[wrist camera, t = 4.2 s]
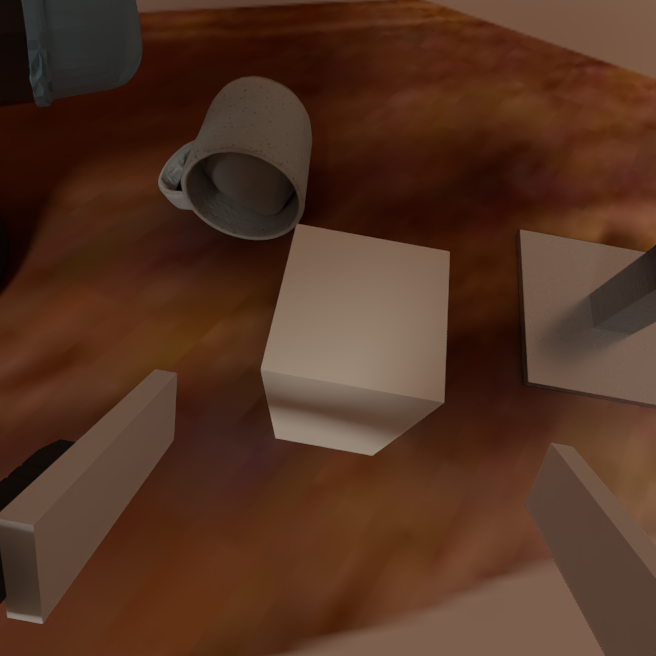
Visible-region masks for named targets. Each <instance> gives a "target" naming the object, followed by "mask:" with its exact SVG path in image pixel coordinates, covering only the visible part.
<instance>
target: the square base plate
mask: <svg viewBox="0 0 656 656" xmlns="http://www.w3.org/2000/svg"><path fill="white" fill-rule="evenodd" d="M516 244H517V265H518V285H519V306H520V326H521V347H522V367H523V385H528V386H534V387H539V388H545V389H550V390H556V391H561V392H567V393H572V394H578V395H583V396H589V397H594V398H600V399H605V400H611V401H616V402H622V403H628V404H633V405H639V406H644V407H650V408H655V409H656V245H655V246H654V247H653V248H651V249H650V250H649V251H647V252H641V251H636V250H630V249H625V248H619V247H614V246H609V245H603V244H598V243H592V242H587V241H581V240H576V239H570V238H565V237H559V236H554V235H548V234H543V233H537V232H532V231H526V230H521V229H520V230H519V231H518V233H517V234H516Z"/></svg>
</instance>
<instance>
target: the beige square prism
mask: <svg viewBox="0 0 656 656" xmlns="http://www.w3.org/2000/svg"><path fill="white" fill-rule="evenodd" d="M449 266H450V251H444V250H439V249H433V248H428V247H422V246H417V245H411V244H406V243H400V242H395V241H389V240H384V239H378V238H373V237H367V236H362V235H356V234H351V233H345V232H340V231H334V230H329V229H323V228H318V227H312V226H307V225H302V224H296V228H295V232H294V236H293V240H292V244H291V248H290V252H289V256H288V260H287V264H286V268H285V273H284V277H283V281H282V285H281V289H280V293H279V297H278V301H277V305H276V309H275V313H274V317H273V321H272V325H271V329H270V333H269V337H268V341H267V345H266V349H265V354H264V358H263V362H262V366H261V374H262V378H263V383H264V388H265V392H266V397H267V401H268V406H269V410H270V415H271V419H272V424H273V428H274V433H275V438H278V439H283V440H289V441H294V442H300V443H305V444H311V445H317V446H322V447H328V448H333V449H339V450H344V451H350V452H355V453H361V454H367V455H372V456H373V455H374V454H375V453H377V452H378V451H379V450H381V449H382V448H383V447H385V446H386V445H388V444H389V443H390V442H392V441H393V440H394V439H396V438H397V437H398V436H400V435H401V434H402V433H404V432H405V431H407V430H408V429H409V428H411V427H412V426H413V425H415V424H416V423H417V422H419V421H420V420H421V419H423V418H424V417H426V416H427V415H428V414H430V413H431V412H432V411H434V410H435V409H436V408H438V407H439V406H441V405H442V404H443V403H444V396H445V370H446V344H447V318H448V292H449Z"/></svg>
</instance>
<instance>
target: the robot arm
mask: <svg viewBox="0 0 656 656" xmlns="http://www.w3.org/2000/svg"><path fill="white" fill-rule="evenodd" d="M141 58H142V37H141V29H140V23H139V17H138V10H137V5H136V0H0V107H2V106H10V105H18V104H25V103H33V102H35V104H36V105H37V106H38V107H48V106H50V105H51V103H52V101H53V100H54V99H60V98H65V97H71V96H77V95H82V94H88V93H94V92H99V91H105V90H110V89H114V88H117V87H120V86H122V85H124V84H125V83H127V82H128V81H129V80H130V79H132V77H133V76H134V75H135V73H136V72H137V69H138V67H139V65H140V62H141ZM7 258H8V237H7V232H6V229H5V226H4V223H3V221H2V219H1V217H0V281H1V279H2V277H3V274H4V271H5V267H6V264H7ZM176 387H177V373H174V372H168V371H163V370H158V369H155V370H154V371H153V372H152V373H151V374H150V375H148V376H147V377H146V378H145V379H144V380H143V381H142V382H141V383H140V384H139V385H138V386H136V387H135V388H134V389H133V390H132V391H131V392H130V393H129V394H128V395H127V396H126V397H125V398H123V399H122V400H121V401H120V402H119V403H118V404H117V405H116V406H115V407H114V408H113V409H112V410H110V411H109V412H108V413H107V414H106V415H105V416H104V417H103V418H102V419H101V420H100V421H99V422H97V423H96V424H95V425H94V426H93V427H92V428H91V429H90V430H89V431H88V432H87V433H85V434H84V435H83V436H82V437H81V438H80V439H79V440H78V441H77V442H71V441H66V440H58V441H56V442H54V443H52V444H49V445H47V446H45V447H43V448H41V449H39V450H38V451H37V452H35V453H34V454H33V455H32V456H31V457H29V458H28V459H27V460H26V461H25V462H23V463H22V466H19V467H17V468H16V469H15V470H14V471H13V472H11V473H10V474H9V476H8V478H4V479H3V480H2V481H1V482H0V604H1V603H2V601H3V600H4V599H5V603H6V611H7V617H8V618H13V619H19V620H24V621H30V622H35V623H41V624H43V623H44V622H45V620H46V619H47V617H48V616H49V615H50V613H51V612H52V610H53V609H54V608H55V606H56V605H57V603H58V602H59V600H60V599H61V598H62V596H63V595H64V593H65V592H66V591H67V589H68V588H69V586H70V585H71V584H72V582H73V581H74V579H75V578H76V577H77V575H78V574H79V572H80V571H81V569H82V568H83V567H84V565H85V564H86V562H87V561H88V560H89V558H90V557H91V555H92V554H93V553H94V551H95V550H96V548H97V547H98V546H99V544H100V543H101V541H102V540H103V539H104V537H105V536H106V534H107V533H108V531H109V530H110V529H111V527H112V526H113V524H114V523H115V522H116V520H117V519H118V517H119V516H120V515H121V513H122V512H123V510H124V509H125V508H126V506H127V505H128V503H129V502H130V501H131V499H132V498H133V496H134V495H135V493H136V492H137V491H138V489H139V488H140V486H141V485H142V484H143V482H144V481H145V479H146V478H147V477H148V475H149V474H150V472H151V471H152V470H153V468H154V467H155V465H156V464H157V463H158V461H159V460H160V458H161V457H162V455H163V454H164V453H165V451H166V450H167V448H168V447H169V446H170V444H171V443H172V441H173V440H174V424H175V406H176ZM524 505H525V507H526V509H527V511H528V513H529V515H530V516H531V518H532V520H533V522H534V524H535V526H536V528H537V530H538V531H539V533H540V535H541V537H542V539H543V541H544V543H545V544H546V546H547V548H548V550H549V552H550V554H551V556H552V558H553V559H554V561H555V563H556V565H557V567H558V569H559V571H560V572H561V574H562V576H563V578H564V580H565V582H566V583H567V586H568V587H569V589H570V591H571V593H572V595H573V597H574V599H575V600H576V602H577V604H578V606H579V608H580V610H581V611H582V613H583V615H584V617H585V619H586V621H587V623H588V625H589V627H590V628H591V630H592V632H593V634H594V636H595V638H596V639H597V641H598V643H599V645H600V647H601V649H602V651H603V653H604V655H605V656H656V545H655V544H654V542H653V541H652V540H651V539H650V538H649V536H648V535H647V534H646V533H645V532H644V531H643V529H642V528H641V527H640V526H639V525H638V523H637V522H636V521H635V520H634V519H633V517H632V516H631V515H630V514H629V513H628V512H627V510H626V509H625V508H624V507H623V506H622V504H621V503H620V502H619V501H618V500H617V498H616V497H615V496H614V495H613V494H612V493H611V491H610V490H609V489H608V488H607V487H606V485H605V484H604V483H603V482H602V481H601V479H600V478H599V477H598V476H597V475H596V474H595V472H594V471H593V470H592V469H591V468H590V466H589V465H588V464H587V463H586V462H585V460H584V459H583V458H582V457H581V456H580V455H579V453H578V452H577V451H576V450H575V449H574V447H573V446H567V445H562V444H556V443H551V444H550V446H549V448H548V451H547V453H546V455H545V457H544V460H543V462H542V464H541V467H540V469H539V471H538V474H537V476H536V478H535V481H534V483H533V485H532V488H531V490H530V492H529V495H528V497H527V499H526V502H525V504H524Z"/></svg>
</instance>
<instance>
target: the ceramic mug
mask: <svg viewBox="0 0 656 656" xmlns="http://www.w3.org/2000/svg"><path fill="white" fill-rule="evenodd" d="M311 149H312V132H311V124H310V119H309V116H308V114H307V111H306V109H305V107H304V105H303V104H302V103H301V101H300V100H299V98H298V97H297V96H296V95H295V94H294V93H293V92H292V91H291V90H290V89H289V88H287V87H286V86H285V85H283V84H281V83H279V82H277V81H274V80H272V79H269V78H266V77H260V76H247V77H241V78H238V79H236V80H234V81H232V82H230V83H229V84H227V85H226V86H225V87H224V88H222V90H221V91H220V92H219V93H218V94H217V96H216V97H215V98H214V100H213V101H212V103H211V105H210V107H209V109H208V111H207V114H206V116H205V119H204V122H203V125H202V127H201V129H200V132H199V134H198V136H197V138H196V140H193V141H191V142H189V143H187V144H185V145H184V146H183V147H182V148H180V149H179V150H178V151H177V152H176V153H174V154H173V155H172V157H171V158H170V159H169V160H168V161H167V162H166V164H165V166H164V167H163V169H162V171H161V173H160V176H159V181H158V185H159V188H160V190H161V191H162V193H163V194H164V195H165V196H166V197H167V198H168V200H169V201H170V202H171V203H172V204H173V205H175V206H176V207H178V208H180V209H185V210H193V211H194V212H195V214H197V215H198V216H199V217H200V218H201V219H202V220H203V221H204V222H206V223H207V224H208V225H210V226H211V227H213V228H215V229H217V230H219V231H221V232H223V233H225V234H228V235H231V236H234V237H238V238H243V239H248V240H269V239H274V238H277V237H280V236H283V235H285V234H287V233H288V232H290V231H291V230H292V229H293V228H294V227H295V226H296V224H298V222H299V221H300V219H301V217H302V215H303V211H304V207H305V198H306V190H307V182H308V174H309V164H310V156H311ZM180 181H181V187H182V191H176V189H177V187H178V185H179V183H180Z"/></svg>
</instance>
